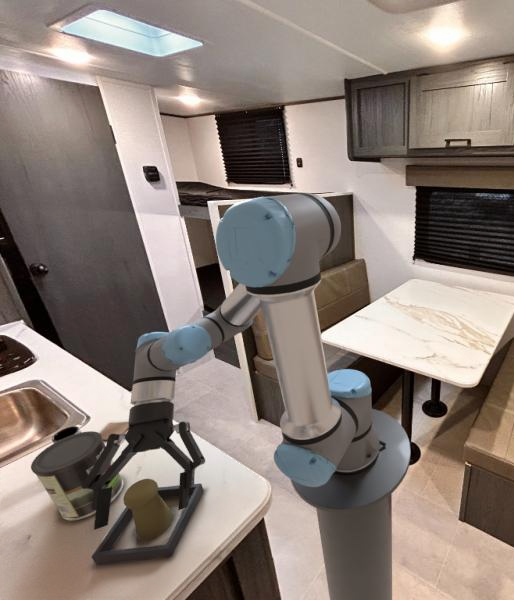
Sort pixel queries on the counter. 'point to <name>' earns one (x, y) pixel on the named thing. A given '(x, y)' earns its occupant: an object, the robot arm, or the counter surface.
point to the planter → (65, 433)
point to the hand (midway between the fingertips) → (143, 517)
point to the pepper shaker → (147, 509)
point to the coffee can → (72, 473)
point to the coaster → (114, 429)
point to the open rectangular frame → (150, 552)
